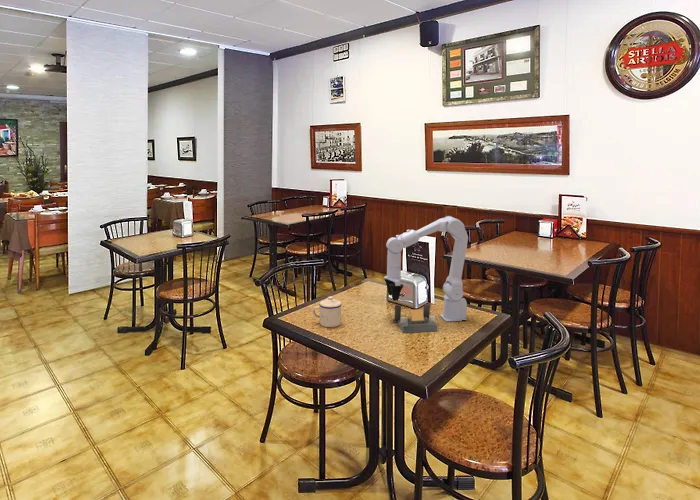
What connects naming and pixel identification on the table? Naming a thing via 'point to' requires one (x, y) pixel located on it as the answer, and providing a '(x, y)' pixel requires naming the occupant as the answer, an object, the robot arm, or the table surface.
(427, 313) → the post
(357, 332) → the table surface
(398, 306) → the cord post
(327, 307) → the teacup with lid
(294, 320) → the table surface
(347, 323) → the table surface
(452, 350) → the table surface
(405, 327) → the panel
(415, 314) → the tan flat block
